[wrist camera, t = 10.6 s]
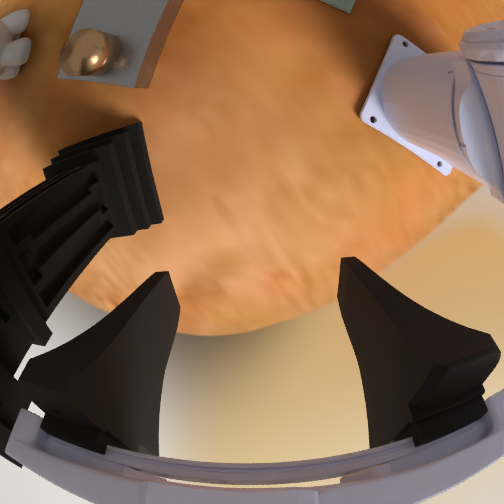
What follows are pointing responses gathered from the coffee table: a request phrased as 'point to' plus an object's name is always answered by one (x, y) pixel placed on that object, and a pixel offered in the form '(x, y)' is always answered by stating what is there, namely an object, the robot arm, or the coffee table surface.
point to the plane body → (117, 41)
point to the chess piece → (64, 242)
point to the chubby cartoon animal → (13, 43)
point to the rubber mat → (341, 4)
